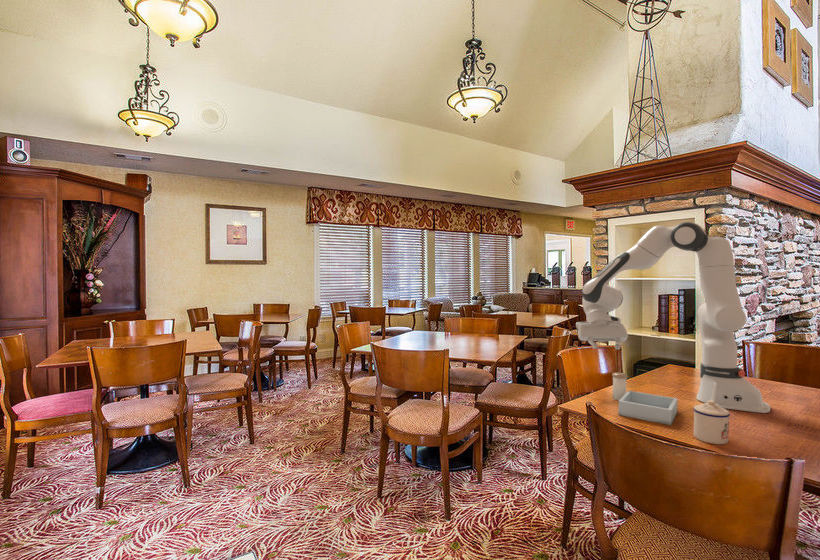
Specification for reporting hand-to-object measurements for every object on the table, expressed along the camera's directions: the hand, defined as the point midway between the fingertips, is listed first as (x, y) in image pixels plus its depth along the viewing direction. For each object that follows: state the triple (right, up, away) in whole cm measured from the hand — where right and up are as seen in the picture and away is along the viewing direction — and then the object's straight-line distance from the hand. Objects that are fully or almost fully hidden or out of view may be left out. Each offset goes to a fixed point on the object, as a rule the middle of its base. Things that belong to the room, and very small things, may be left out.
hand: (606, 348), depth 180 cm
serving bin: (+1, -19, -29) cm, 34 cm away
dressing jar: (0, -18, -12) cm, 22 cm away
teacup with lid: (+9, -20, -50) cm, 54 cm away
